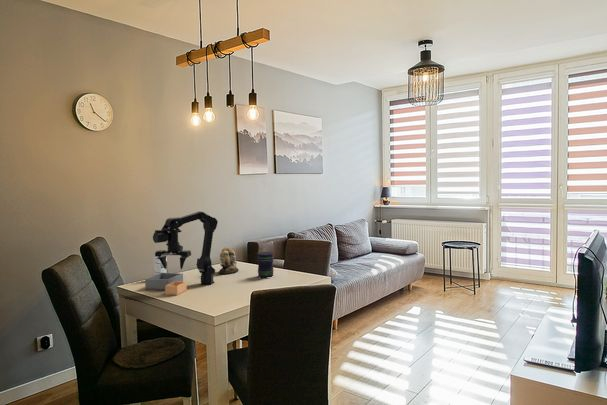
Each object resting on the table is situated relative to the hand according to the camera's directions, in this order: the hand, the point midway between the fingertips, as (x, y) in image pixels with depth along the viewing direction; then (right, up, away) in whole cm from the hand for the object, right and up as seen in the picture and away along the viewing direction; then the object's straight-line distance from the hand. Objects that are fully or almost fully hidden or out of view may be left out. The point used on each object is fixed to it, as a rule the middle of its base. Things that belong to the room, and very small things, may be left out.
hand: (173, 269), depth 227 cm
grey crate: (-9, -12, +12) cm, 19 cm away
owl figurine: (+21, -10, +48) cm, 54 cm away
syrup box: (-17, -12, +30) cm, 37 cm away
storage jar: (+48, -10, +34) cm, 59 cm away
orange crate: (+2, -13, -3) cm, 13 cm away
